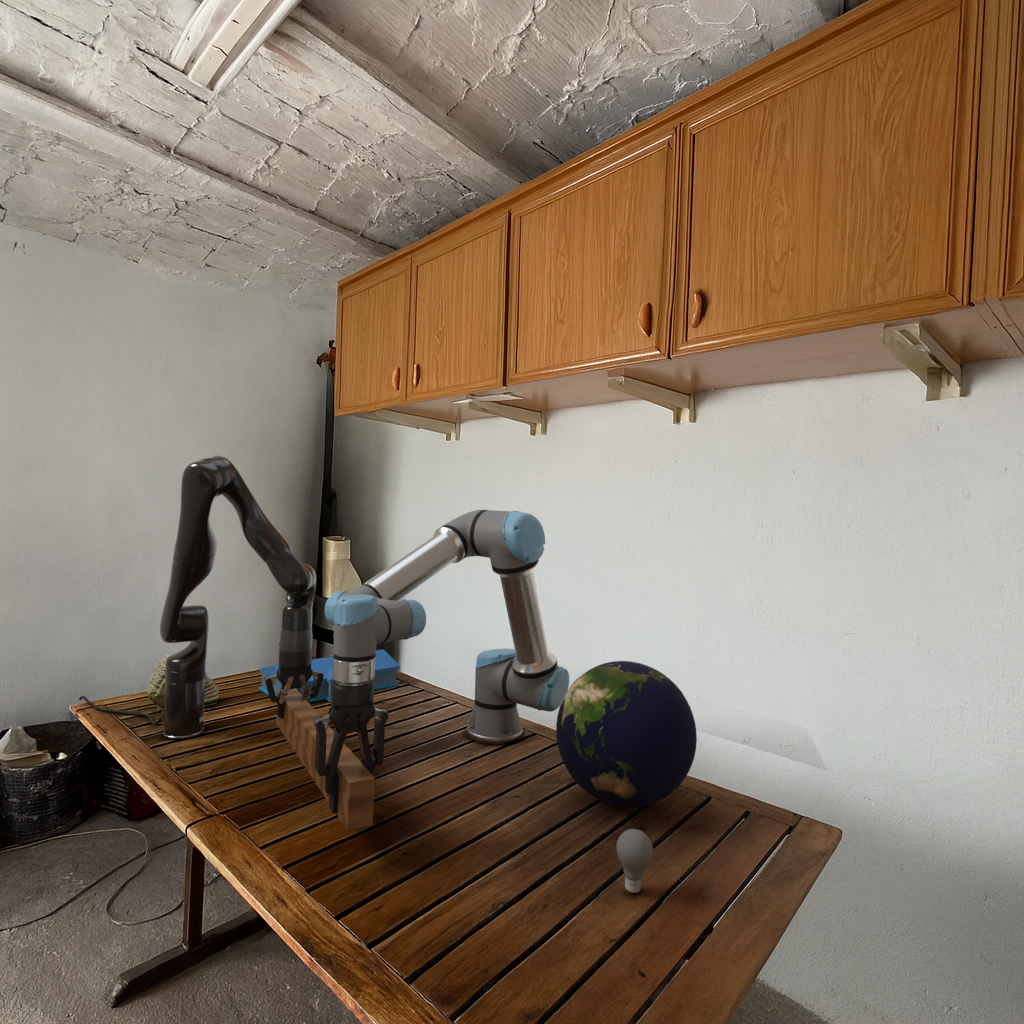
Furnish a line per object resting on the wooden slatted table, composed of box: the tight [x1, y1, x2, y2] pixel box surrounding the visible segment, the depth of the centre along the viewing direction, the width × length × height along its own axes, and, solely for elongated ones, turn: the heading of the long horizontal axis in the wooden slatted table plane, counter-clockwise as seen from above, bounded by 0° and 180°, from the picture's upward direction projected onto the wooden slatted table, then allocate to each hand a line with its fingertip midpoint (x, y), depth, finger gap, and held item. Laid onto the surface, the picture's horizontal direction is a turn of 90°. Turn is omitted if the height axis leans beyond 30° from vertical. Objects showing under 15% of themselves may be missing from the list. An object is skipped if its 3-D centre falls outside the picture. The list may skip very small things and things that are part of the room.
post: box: [275, 689, 376, 832], centre depth 135 cm, size 59×4×8 cm, turn 32°
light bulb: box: [615, 828, 654, 894], centre depth 106 cm, size 6×6×10 cm
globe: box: [555, 660, 698, 809], centre depth 138 cm, size 30×30×30 cm
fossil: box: [147, 654, 221, 712], centre depth 185 cm, size 9×18×15 cm, turn 132°
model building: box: [258, 649, 401, 703], centre depth 208 cm, size 39×24×10 cm, turn 132°
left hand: (293, 716), depth 153 cm, fingers closed on post, 4 cm apart
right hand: (347, 806), depth 116 cm, fingers closed on post, 5 cm apart
